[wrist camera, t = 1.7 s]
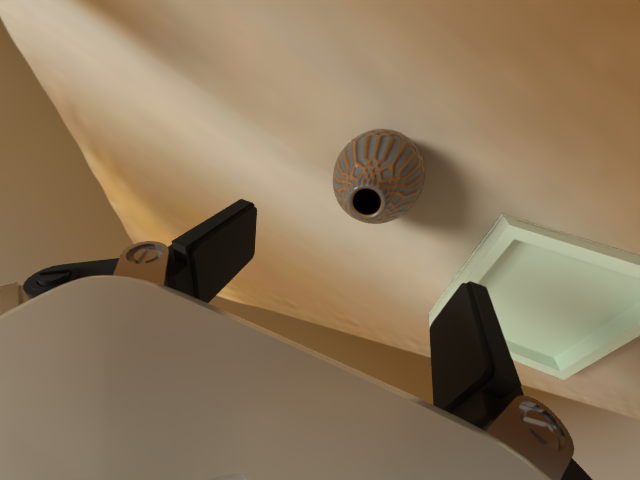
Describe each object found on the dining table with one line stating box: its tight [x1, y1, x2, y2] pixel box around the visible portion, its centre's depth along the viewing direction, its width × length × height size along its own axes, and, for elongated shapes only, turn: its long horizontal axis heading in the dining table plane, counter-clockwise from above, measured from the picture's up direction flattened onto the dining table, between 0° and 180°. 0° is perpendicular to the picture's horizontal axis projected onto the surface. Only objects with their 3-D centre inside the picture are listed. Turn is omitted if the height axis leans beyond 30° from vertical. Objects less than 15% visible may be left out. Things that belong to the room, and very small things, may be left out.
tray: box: [429, 214, 640, 380], centre depth 23 cm, size 14×14×2 cm
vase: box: [333, 129, 425, 224], centre depth 19 cm, size 7×7×9 cm
